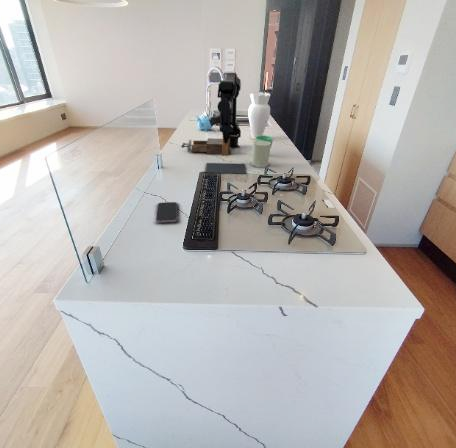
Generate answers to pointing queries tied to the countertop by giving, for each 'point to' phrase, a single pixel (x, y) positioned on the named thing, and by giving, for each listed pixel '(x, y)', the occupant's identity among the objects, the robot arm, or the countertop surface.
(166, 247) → the countertop surface
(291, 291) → the countertop surface
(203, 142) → the drawer
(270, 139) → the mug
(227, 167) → the mat
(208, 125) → the teapot
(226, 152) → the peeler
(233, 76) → the robot arm
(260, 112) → the vase
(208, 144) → the cabinet
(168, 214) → the smartphone
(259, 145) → the can
